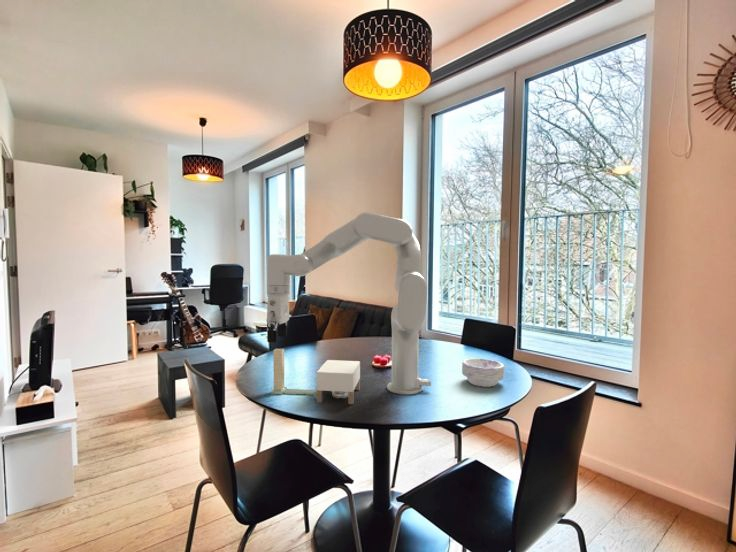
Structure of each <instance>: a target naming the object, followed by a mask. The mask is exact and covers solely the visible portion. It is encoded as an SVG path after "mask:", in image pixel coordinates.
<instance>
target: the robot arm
mask: <svg viewBox="0 0 736 552" xmlns="http://www.w3.org/2000/svg"><path fill="white" fill-rule="evenodd" d="M369 239H370V240H374V241H380V242H384V243H388V244H389V245H391V246H393V247H394V249H395V251H396V258H397V260H396V273H395V274H396V275H395V282H394V283H395V284H394V288H395V290H396V292H397V294H398V295H397V296H398V297H397V303H396V304H395V305H394V306H393V307H392V310H391V315H390V321H391V322H390V324H391V382H390V381H389V383H388V384H387V385H386V386H387V387H386V388H387V390H388V391H389V392H391V393H393V394H398V395H406V396H407V395H415V394H419V393H421V392H422V391H423V387H424V386H425V387H431V386H432V380H428V378H421V377H420V374H419V344H420V340H419V338H420V337H419V336H420V335H419V330H421V328H422V327H424V323H425V320H426V311H427V298H428V286H427V285H428V283H427V281H426V279H425V278H424V276H422V274H421V273H422V272H421V271H422V250H421V245H420V243H419V241H418V239H417V238H416V236H415V234H414V233H413V228H412V226H411V224H410V223H409V222H408V221H406V220H405V219H402V218H398V217H397V218H396V217H391V216H387V215H382V214H379V213H374V212H367V211H364V212H361V213H360V214H358V215H357V216H356V217H355V218H353V219H352V220H350V221H348V222H347V223H345V224H344V225H341V226H340V227H338V228H337V229H335V230H333V231H332V232H331V231H330V233H328V234H327V235H326V236H324V237H323V239H321V240H320V241H319V242H318V243H316V244H315V245H314V246H312V247H310V248H309V249H306V251H304V252H301V253H299V254H292V255H291V254H290V255H287V254H279V253H278V254H277V253H274V254H269V255H268V256H267V267H266V268H267V269H266V271H267V272H266V295H268V297H267V308H266V320H265V321H266V331H267V339H266V341H267V343H277V342H278V337H283V338H286V337H287V336H288V321H289V320H290V298H289V295H290V276H295V277H305V276H307V275H309V274H310V273H311V272H312V271H314V270H316V269H318V268H320V267H321V266H323V265H324V264H326V263H328V262H330V261H331V260H334V259H336V258H339V257H340V256H343V255H344V254H346V253H347V252H349V251H351V250H352V249H354V248H355V247H357V246H359V245H361V244H362V243H364V242H366V241H367V240H369Z"/></svg>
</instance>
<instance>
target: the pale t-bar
mask: <svg viewBox="0 0 736 552" xmlns="http://www.w3.org/2000/svg"><path fill="white" fill-rule="evenodd" d="M272 358H273V367H272V368H273V389H272V390H271V391H270V395H276V394H282V395H296V394H306V395H305V396H313V398H314V397H315V398H314V399H317V398H316V397H317V387H316V388H315V389H304V388H303V389H302V388H301V389H299V388H298V389H297V388H287V386H285V348H275V349H273V357H272ZM323 392H324V391H323V390H322V393H323ZM283 393H285V394H283Z"/></svg>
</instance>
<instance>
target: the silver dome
mask: <svg viewBox="0 0 736 552" xmlns="http://www.w3.org/2000/svg"><path fill="white" fill-rule="evenodd" d="M332 396H333V398H334V397H335V398H334V399H339V398H342V399H347V398H348V392H342V391H331V397H332Z"/></svg>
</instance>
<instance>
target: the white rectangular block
mask: <svg viewBox="0 0 736 552" xmlns="http://www.w3.org/2000/svg"><path fill="white" fill-rule="evenodd" d="M319 368H320V369H317V371H316V388H317V398H316V403H320V402H321V403H322V402H323V392H324V391H329V392H332V391H342V392H348V397H347V398H348V401H347V403H348V405H353V404H354V402H355V401H354V400H355V391H360V389H361V361H359V360H342V359H341V360H339V359H338V360H337V359H327V360H326V361H325V362H324V363H323V364H322V365H321V366H320V367H319ZM322 390H323V392H322Z"/></svg>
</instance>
